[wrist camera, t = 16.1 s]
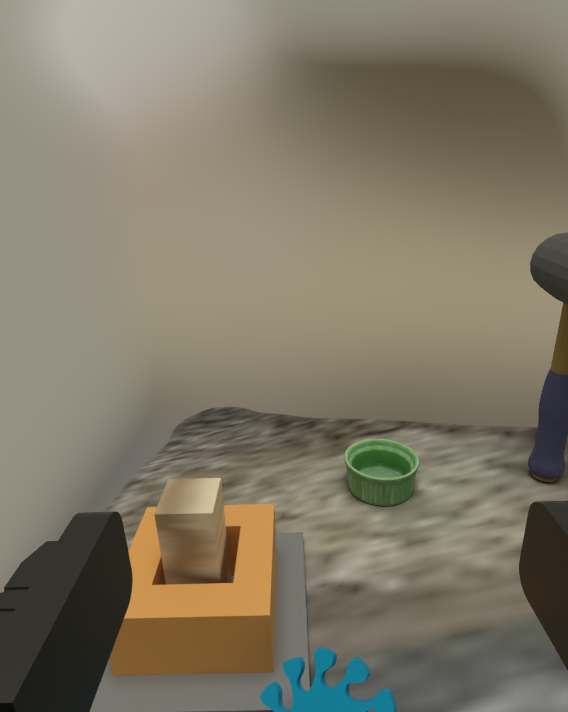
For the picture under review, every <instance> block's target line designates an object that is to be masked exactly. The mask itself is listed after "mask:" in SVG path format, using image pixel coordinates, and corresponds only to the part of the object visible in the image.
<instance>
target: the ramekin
mask: <svg viewBox="0 0 568 712" xmlns="http://www.w3.org/2000/svg"><path fill="white" fill-rule="evenodd" d="M344 458H345V464H346V467H347V480H348V486H349V489H350V490H351V492H352V493H353V494H354V495H355V496H356V497H357V498H358V499H360V500H362V501H364V502H366V503H369V504H373V505H378V506H392V505H396V504H399V503H402V502H404V501H405V500H407V499H408V498H409V497H410V495H411V493H412V491H413V487H414V480H415V475H416V472H417V470H418V467H419V459H418V456H417V455H416V453H415V452H414V451H413V450H412V449H410V448H409V447H407V446H406V445H403V444H401V443H398V442H395V441H391V440H386V439H368V440H363V441H359V442H357V443H355V444H353V445H351V446H350V447H349V448H348V449H347V450H346V452H345V456H344Z"/></svg>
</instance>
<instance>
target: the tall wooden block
mask: <svg viewBox="0 0 568 712" xmlns="http://www.w3.org/2000/svg"><path fill="white" fill-rule="evenodd" d="M154 516H155V522H156V528H157V534H158V540H159V546H160V552H161V558H162V564H163V570H164V576H165V582H166V585H169V584H211V583H231V574H230V564H229V554H228V544H227V534H226V524H225V514H224V505H223V495H222V485H221V478H198V479H168V482H167V484H166V487H165V489H164V492H163V494H162V497H161V499H160V502H159V504H158V507H157V509H156V511H155V514H154Z"/></svg>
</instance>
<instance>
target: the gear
mask: <svg viewBox="0 0 568 712" xmlns="http://www.w3.org/2000/svg"><path fill="white" fill-rule="evenodd" d="M314 659H315V664H316V674H315V679H314V681H313V684H312V686H311V688H310V690H309V691H306V690H304V689H303V688H302V686H301V677H302V674H303V672H304V670H305V662H304V659H303V658H302V657H296V658H293V659H289V660H287V661H285V662H283V670H284V673H285V674H286V676H287V677H288V679H289V681H290V684H291V688H292V696H293V704H292V708H291V710H288V709H286V708H285V707H284V705H283V700H282V688H281V686H280V684H279V683H277V682H274V683H271V684H269V685H268V686H267V687H266V688H265V689H264V691H263V692H262V694H261V695H260V698H261V701H262V703H263V704H264V705H265V706H267V707H269V708H270V709H272V710H273V711H274V712H367V711H368V710H369V709H374V710H376V711H377V712H396V703H395V699H394V696H393V694H392V691H391V690H390V689H383V690H382V691H380V692H379V693H378V694H377V696H375V697H374V698H372V699H369V700H356V699H353V698H352V697H351V696H350V694H349V689H348V688H349V684H350V683H351V682H356V683H361V682H363V681H364V680H366V679H367V678H368V677H369V675H370V670H369V668H368V667H367V665H366V664H365V663H364V662H363V661H362V660H361V659H360V658H359V657H357V658H354V659H353V660H351V661H350V662H349V665H348V669H347V672H346V675H345V677H344V678H343V680H342V681H341V682H340V683H339V684H338V685H336V686H335V687H330V686H328V685H327V684H326V682H325V679H324V675H325V672H326V671H327V670H328V669H329V668H331V667H332V666H333V665H334V664H335V662H336V659H337V656H336V653H335V652H333V651H332V650H330V649H327V648H322V647H320V648H317V650H316V652H315V655H314Z"/></svg>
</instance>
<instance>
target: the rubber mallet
mask: <svg viewBox="0 0 568 712" xmlns="http://www.w3.org/2000/svg"><path fill="white" fill-rule="evenodd" d="M530 267H531V269H530V270H531V274H532V277H533V279H534V281H536V283H537V284H538V285H539V286H540V287H541V288H543V289H544V290H545V291H546V292H548V293H549V294H550V295H552V296H553V297H555V298H556V299H558V300H560V301H562V302H563V308H562V313H561V318H560V323H559V329H558V334H557V339H556V344H555V350H554V355H553V360H552V365H551V369H550V371H549V372H548V374H547V377H546V380H545V383H544V386H543V390H542V394H541V398H540V403H539V423H538V430H537V435H536V441H535V446H534V449H533V451H532V453H531V455H530V457H529V461H528V466H529V468H530V470H531V474H532V476H533V477H534V478H536V479H538V480H540V481H544V482H553V481H555V480H556V479H557V478H558V477H559V476H561V475H562V474H563V472H564V466H565V465H564V450H565V445H566V440H567V435H568V233H562V234H556V235H554V236H552V237H550V238H548V239H546V240H545V241H544V242H542V243H541V244H540V245H539V246H538V247H537V249H536V250H535V252H534V253H533V256H532V259H531V262H530Z"/></svg>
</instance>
